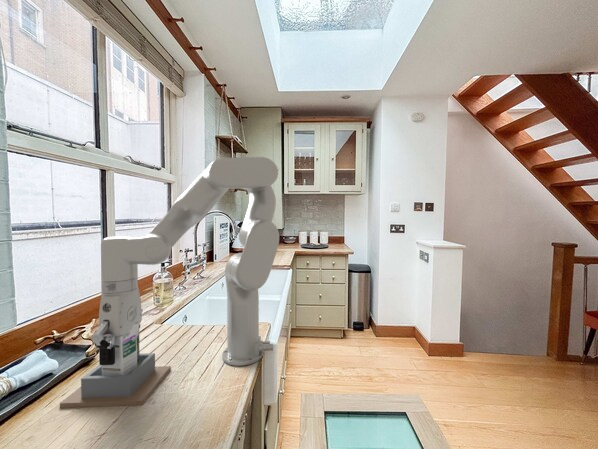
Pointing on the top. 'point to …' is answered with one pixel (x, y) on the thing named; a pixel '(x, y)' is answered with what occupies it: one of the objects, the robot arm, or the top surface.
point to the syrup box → (124, 353)
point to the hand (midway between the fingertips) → (121, 353)
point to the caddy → (118, 386)
